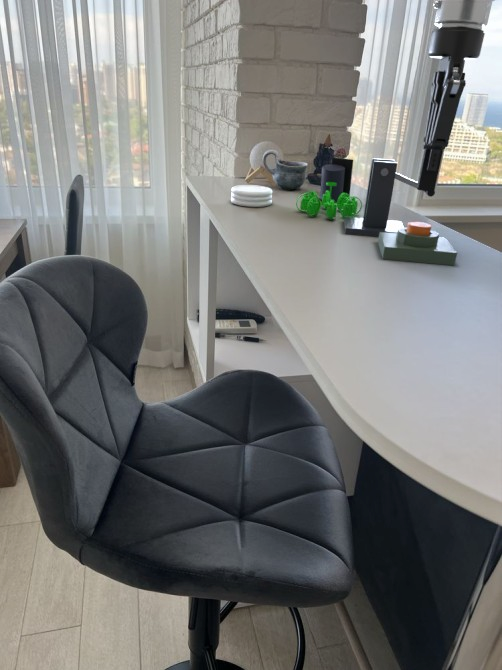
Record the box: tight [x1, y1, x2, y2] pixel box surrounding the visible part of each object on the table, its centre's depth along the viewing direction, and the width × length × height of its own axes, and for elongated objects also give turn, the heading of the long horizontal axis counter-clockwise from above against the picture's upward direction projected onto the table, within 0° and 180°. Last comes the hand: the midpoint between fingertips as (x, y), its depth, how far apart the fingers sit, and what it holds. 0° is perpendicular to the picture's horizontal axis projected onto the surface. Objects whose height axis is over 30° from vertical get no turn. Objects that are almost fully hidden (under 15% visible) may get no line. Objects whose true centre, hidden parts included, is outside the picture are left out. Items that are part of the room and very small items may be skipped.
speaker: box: [319, 157, 354, 203], centre depth 129 cm, size 8×6×10 cm
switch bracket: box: [343, 157, 405, 238], centre depth 102 cm, size 12×10×14 cm
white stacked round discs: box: [230, 184, 273, 208], centre depth 122 cm, size 10×10×4 cm
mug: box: [261, 149, 309, 190], centre depth 140 cm, size 10×12×10 cm
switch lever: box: [395, 172, 436, 198], centre depth 100 cm, size 12×5×2 cm, turn 82°
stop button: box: [406, 221, 432, 236], centre depth 89 cm, size 4×4×2 cm
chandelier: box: [295, 182, 363, 221], centre depth 115 cm, size 15×15×7 cm
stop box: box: [377, 226, 458, 266], centre depth 90 cm, size 12×10×4 cm
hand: (425, 189), depth 86 cm, fingers closed
